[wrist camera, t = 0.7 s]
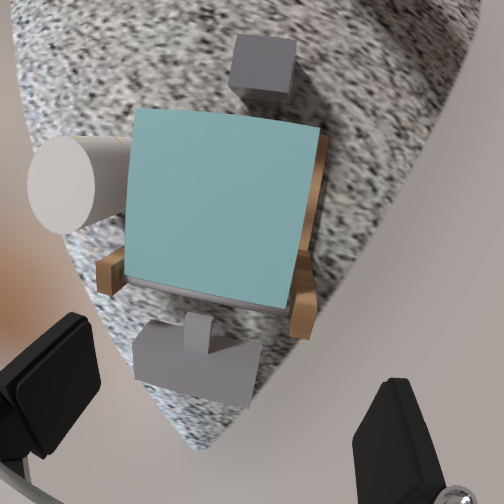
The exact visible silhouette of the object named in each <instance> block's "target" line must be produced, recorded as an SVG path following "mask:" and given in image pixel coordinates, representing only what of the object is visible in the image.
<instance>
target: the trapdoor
mask: <svg viewBox="0 0 504 504" xmlns="http://www.w3.org/2000/svg"><path fill="white" fill-rule="evenodd" d="M319 132H320V128H317V127H312V126H307V125H301V124H296V123H290V122H284V121H278V120H271V119H264V118H257V117H249V116H241V115H232V114H223V113H212V112H200V111H186V110H167V109H136V113H135V120H134V127H133V135H132V143H131V152H130V162H129V173H128V185H127V199H126V218H125V255H124V270H123V272H122V275H121V280H122V281H123V282H127V283H131V284H135V285H139V286H143V287H147V288H151V289H155V290H159V291H163V292H168V293H172V294H176V295H181V296H185V297H189V298H194V299H198V300H203V301H208V302H212V303H217V304H222V305H227V306H231V307H236V308H241V309H246V310H252V311H257V312H262V313H267V314H273V315H278V316H284V317H288V314H289V310H290V303H287V299H288V294H289V290H290V285H291V281H292V276H293V271H294V266H295V262H296V257H297V252H298V247H299V242H300V237H301V232H302V227H303V222H304V217H305V212H306V206H307V201H308V196H309V190H310V185H311V179H312V173H313V168H314V162H315V156H316V150H317V144H318V138H319ZM213 318H214V317H211V316H206V315H202V314H197V313H193V312H189V311H188V312H187V314H186V315H185V324H184V327H180V326H176V325H172V324H168V323H164V322H161V321H157V320H153V319H151V320H150V321H149V323H148V324H147V325H146V326H145V327H144V329H143V330H142V331H141V332H140V334H139V335H138V336H137V337H136V338H135V340H134V341H133V342H132V350H133V363H134V374H135V379H136V380H140V381H143V382H146V383H149V384H152V385H155V386H159V387H162V388H165V389H169V390H172V391H176V392H179V393H183V394H187V395H191V396H194V397H198V398H202V399H207V400H211V401H215V402H219V403H224V404H228V405H233V406H238V407H243V408H248V409H249V407H250V402H251V398H252V394H253V389H254V385H255V380H256V376H257V371H258V365H259V360H260V354H261V349H262V344H258V343H253V342H248V341H243V340H238V339H233V338H228V337H224V336H219V335H214V334H212V327H213Z"/></svg>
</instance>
